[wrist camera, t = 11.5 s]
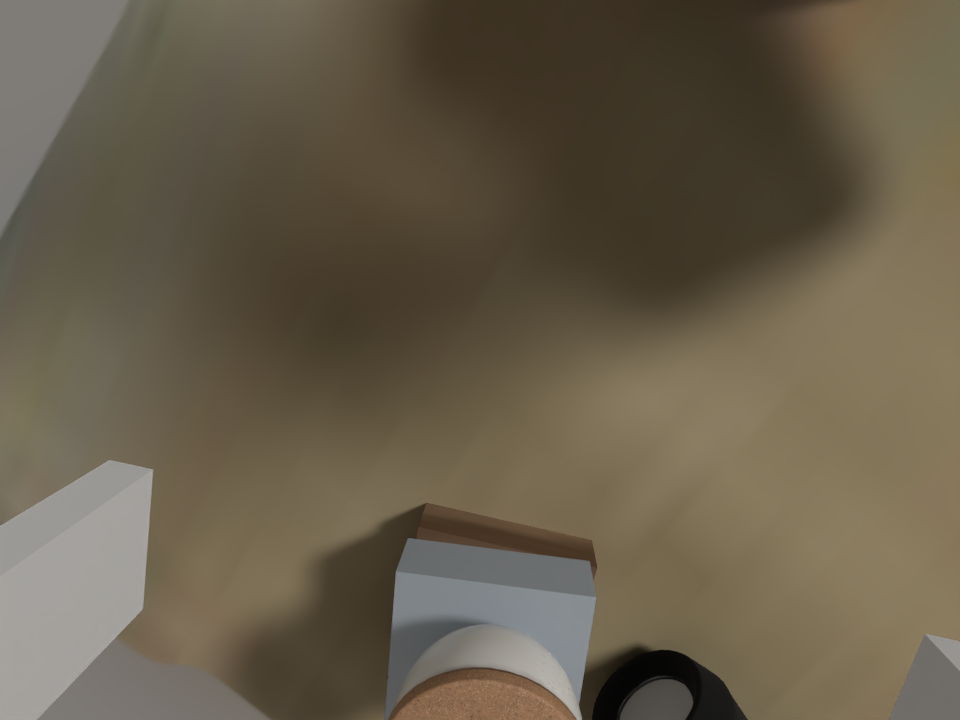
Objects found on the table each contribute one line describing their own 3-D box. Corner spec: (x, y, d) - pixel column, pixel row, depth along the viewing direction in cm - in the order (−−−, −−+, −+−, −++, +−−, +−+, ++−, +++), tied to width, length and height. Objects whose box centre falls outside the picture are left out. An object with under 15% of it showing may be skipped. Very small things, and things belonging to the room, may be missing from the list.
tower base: (427, 499, 46) (418, 526, 42) (591, 536, 45) (597, 567, 41) (398, 640, 48) (386, 678, 45) (551, 676, 48) (554, 717, 44)
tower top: (408, 537, 42) (396, 571, 38) (589, 561, 41) (596, 597, 38) (395, 691, 45) (383, 737, 41) (565, 714, 44) (569, 763, 40)
